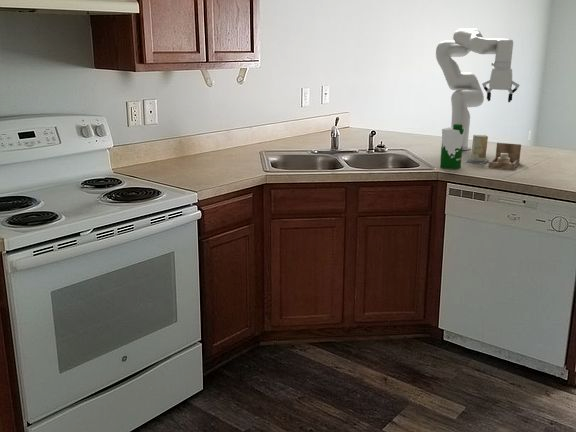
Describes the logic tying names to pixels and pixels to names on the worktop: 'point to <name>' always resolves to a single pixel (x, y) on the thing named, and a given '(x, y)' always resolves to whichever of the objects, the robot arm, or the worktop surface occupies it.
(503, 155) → the offcut top
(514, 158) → the walnut rack
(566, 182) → the worktop surface
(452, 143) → the milk carton
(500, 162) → the offcut mid
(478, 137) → the skincare box
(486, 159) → the slate coaster
